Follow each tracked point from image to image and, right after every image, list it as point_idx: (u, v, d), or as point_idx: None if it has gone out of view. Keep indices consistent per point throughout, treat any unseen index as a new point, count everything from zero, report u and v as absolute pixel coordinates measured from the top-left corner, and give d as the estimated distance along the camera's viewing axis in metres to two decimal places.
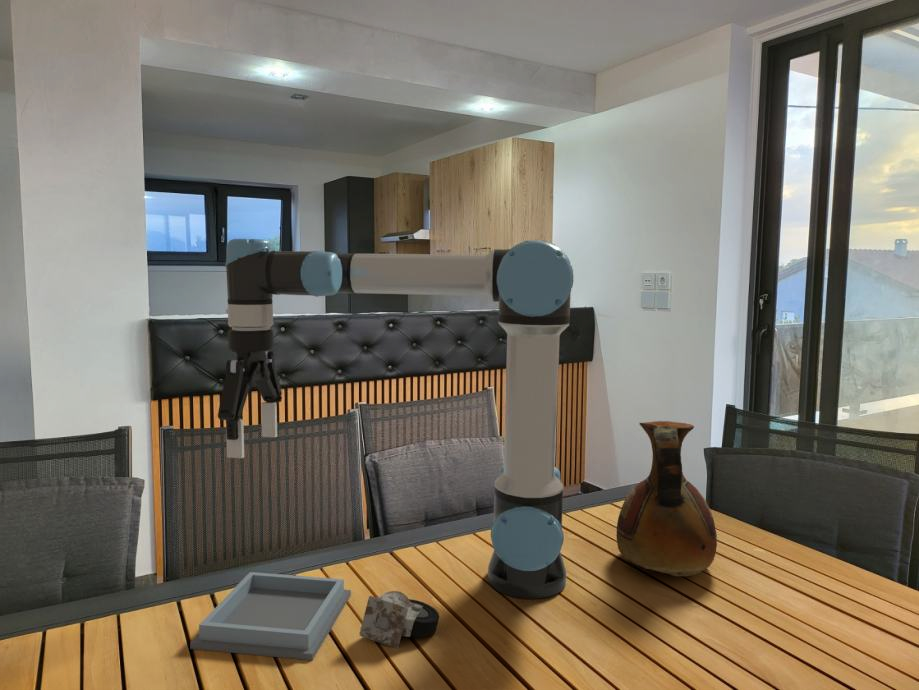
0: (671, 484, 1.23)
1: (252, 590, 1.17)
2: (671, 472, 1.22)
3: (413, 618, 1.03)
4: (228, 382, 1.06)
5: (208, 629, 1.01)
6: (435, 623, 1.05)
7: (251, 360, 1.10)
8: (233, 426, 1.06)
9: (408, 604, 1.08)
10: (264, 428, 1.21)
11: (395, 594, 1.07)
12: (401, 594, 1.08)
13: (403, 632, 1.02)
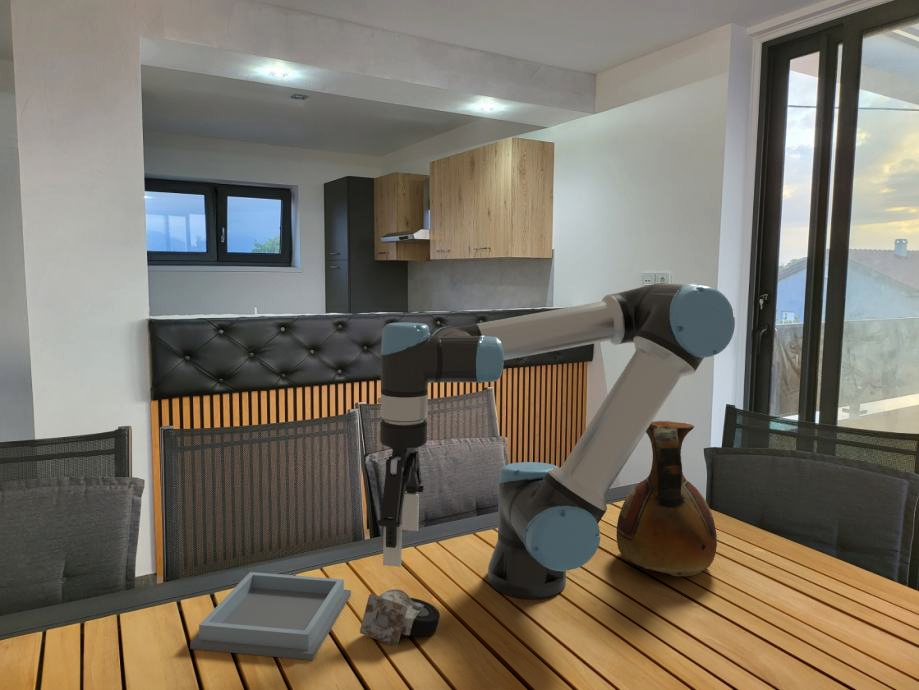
0: (671, 484, 1.23)
1: (252, 590, 1.17)
2: (671, 472, 1.22)
3: (413, 617, 1.04)
4: (389, 485, 0.96)
5: (208, 629, 1.01)
6: (435, 622, 1.06)
7: (406, 456, 1.01)
8: (393, 533, 0.96)
9: (409, 603, 1.08)
10: (405, 521, 1.11)
11: (396, 592, 1.07)
12: (402, 592, 1.08)
13: (403, 630, 1.03)
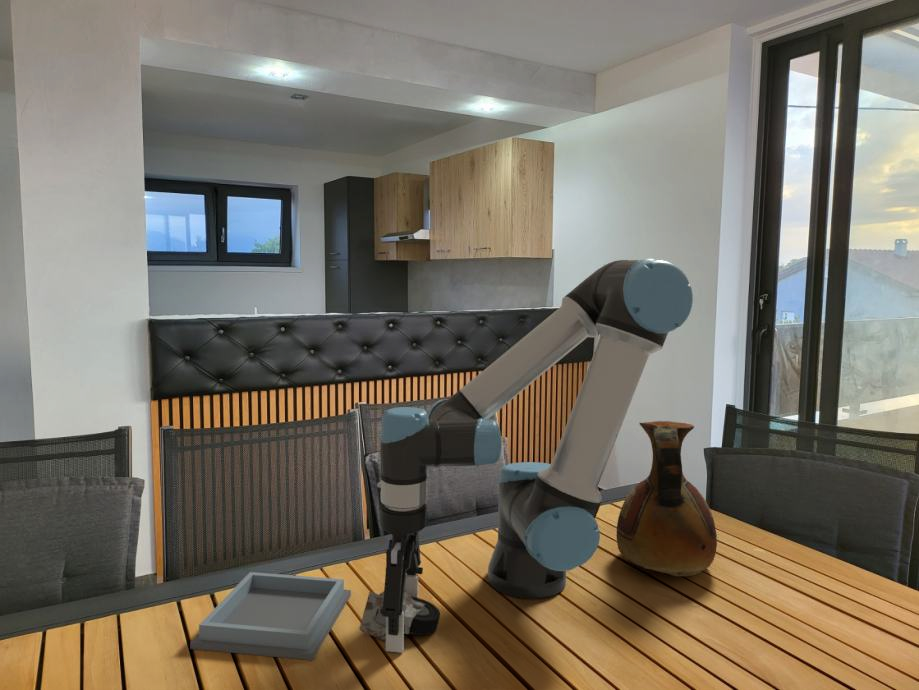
0: (671, 484, 1.23)
1: (252, 590, 1.17)
2: (671, 472, 1.22)
3: (412, 616, 1.04)
4: (390, 575, 0.98)
5: (208, 629, 1.01)
6: (435, 622, 1.06)
7: (406, 540, 1.02)
8: (396, 622, 0.99)
9: (410, 602, 1.08)
10: None
11: None
12: None
13: None
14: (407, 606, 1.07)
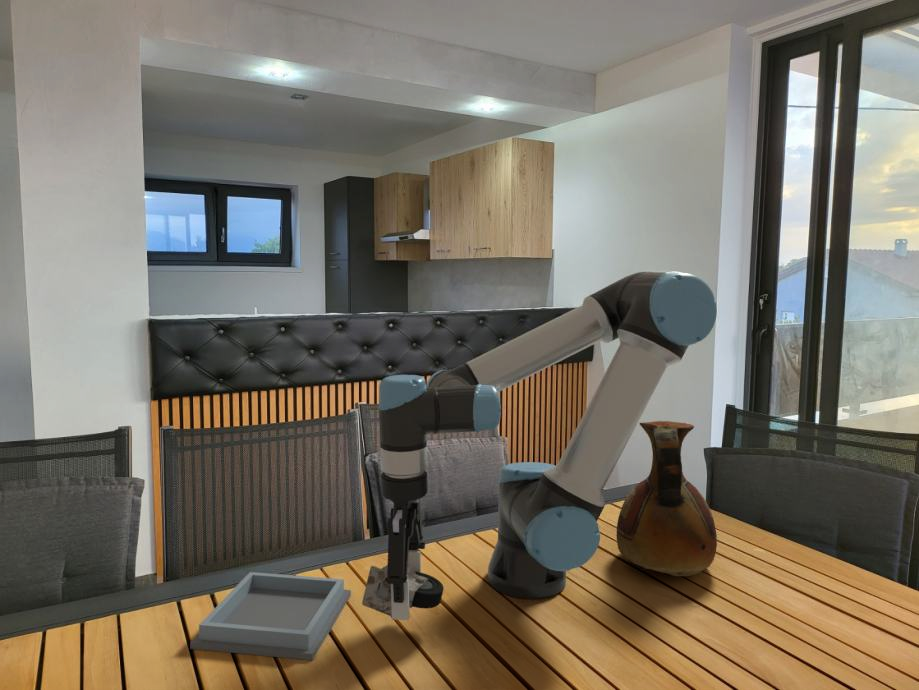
0: (671, 484, 1.23)
1: (252, 590, 1.17)
2: (671, 471, 1.22)
3: (414, 589, 1.03)
4: (392, 544, 0.98)
5: (208, 629, 1.01)
6: (438, 596, 1.04)
7: (408, 508, 1.02)
8: (401, 589, 0.99)
9: (412, 576, 1.07)
10: None
11: None
12: None
13: None
14: (410, 580, 1.06)
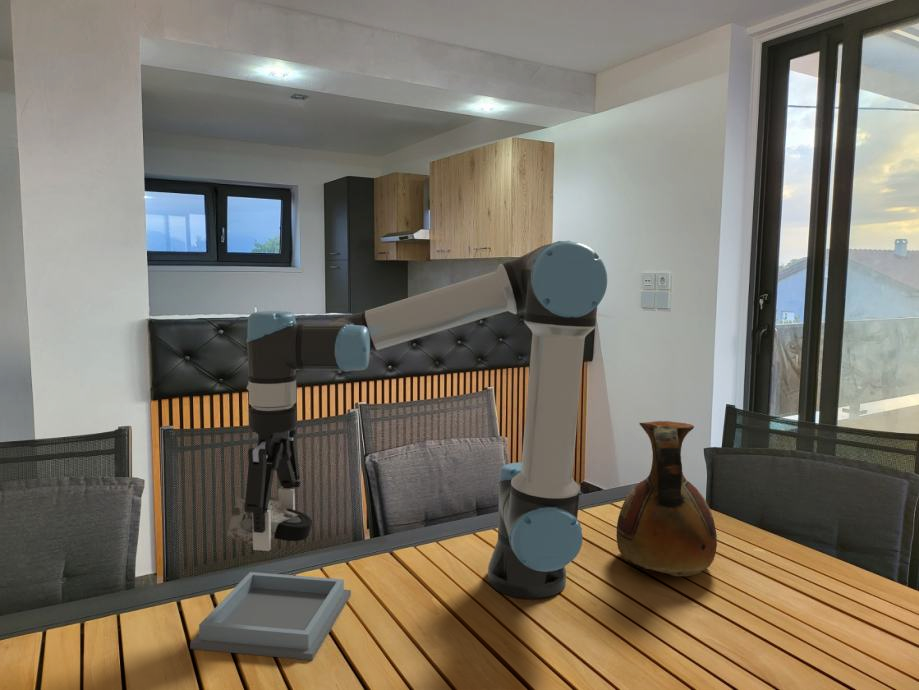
0: (671, 484, 1.23)
1: (252, 590, 1.17)
2: (671, 472, 1.22)
3: (278, 521, 1.04)
4: (252, 473, 0.99)
5: (208, 629, 1.01)
6: (303, 529, 1.06)
7: (273, 440, 1.03)
8: (260, 519, 1.01)
9: (282, 511, 1.09)
10: None
11: None
12: (276, 501, 1.09)
13: None
14: (277, 514, 1.07)
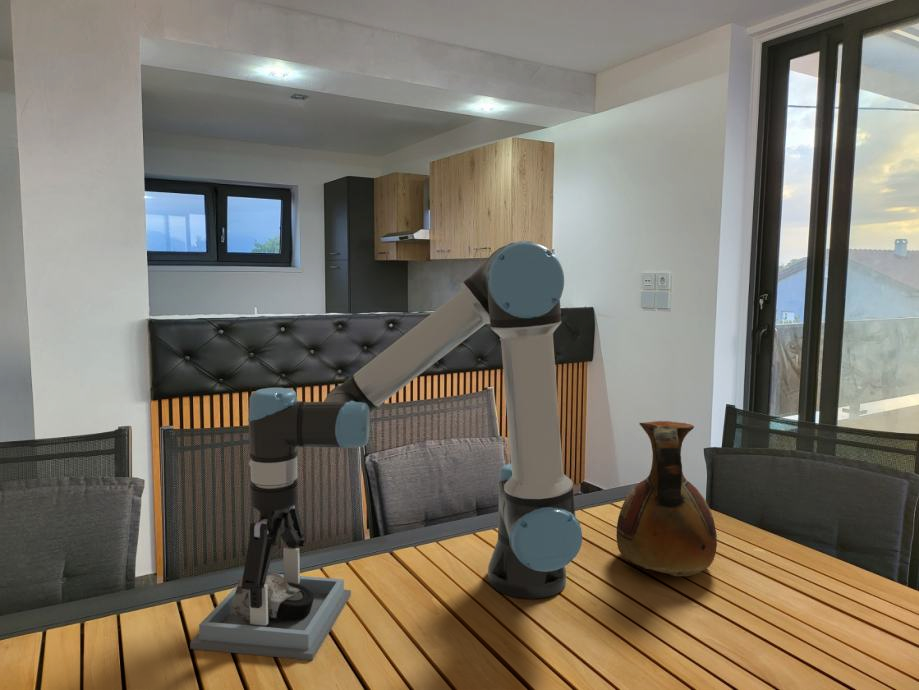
0: (671, 484, 1.23)
1: None
2: (671, 472, 1.22)
3: (280, 600, 1.06)
4: (252, 548, 1.00)
5: (208, 629, 1.01)
6: (305, 607, 1.08)
7: (275, 517, 1.05)
8: (257, 594, 1.00)
9: (284, 587, 1.10)
10: (286, 574, 1.15)
11: (270, 576, 1.10)
12: (278, 577, 1.11)
13: (269, 613, 1.05)
14: (279, 591, 1.09)
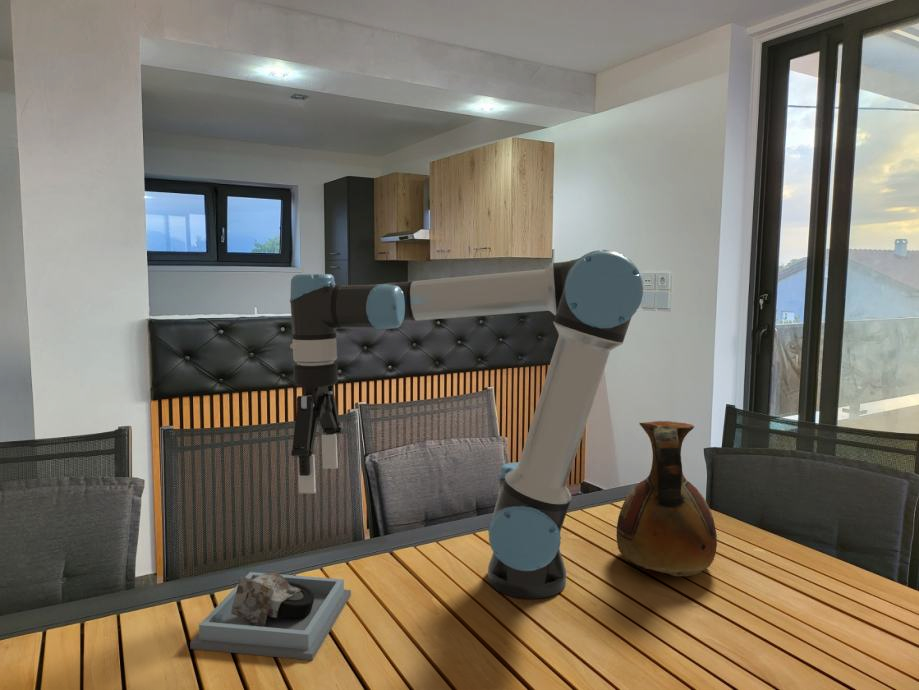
0: (671, 484, 1.23)
1: None
2: (671, 472, 1.22)
3: (281, 600, 1.06)
4: (300, 418, 1.06)
5: (208, 629, 1.01)
6: (306, 607, 1.08)
7: (318, 394, 1.11)
8: (306, 462, 1.06)
9: (285, 587, 1.11)
10: (325, 460, 1.21)
11: (271, 576, 1.10)
12: (279, 576, 1.11)
13: (270, 613, 1.05)
14: (280, 591, 1.09)
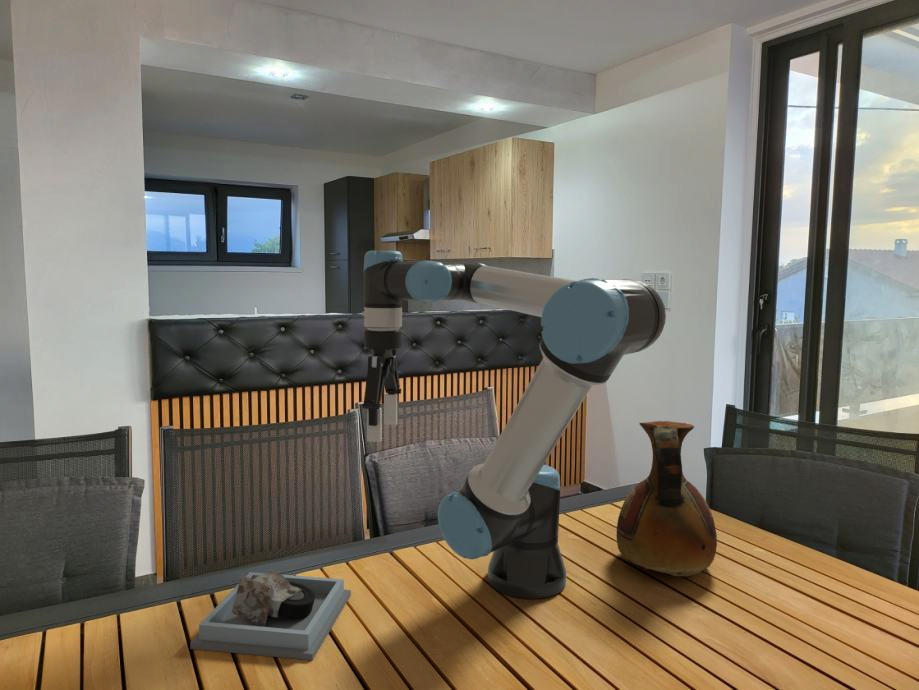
0: (671, 484, 1.23)
1: None
2: (671, 471, 1.22)
3: (281, 600, 1.06)
4: (370, 376, 1.22)
5: (208, 629, 1.01)
6: (306, 607, 1.08)
7: (385, 356, 1.26)
8: (374, 414, 1.22)
9: (285, 587, 1.11)
10: (386, 417, 1.37)
11: (272, 576, 1.10)
12: (280, 576, 1.11)
13: (270, 612, 1.06)
14: (281, 590, 1.09)
